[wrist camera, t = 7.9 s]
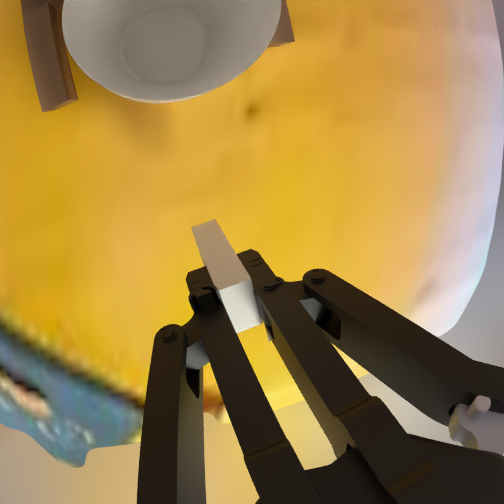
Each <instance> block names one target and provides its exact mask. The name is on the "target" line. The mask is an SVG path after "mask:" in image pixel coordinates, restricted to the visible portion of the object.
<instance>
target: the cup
mask: <svg viewBox="0 0 504 504" xmlns="http://www.w3.org/2000/svg"><path fill="white" fill-rule="evenodd" d="M280 14H281V0H64V4H63V10H62V31H63V36H64V40H65V43H66V46H67V48H68V51H69V53H70V55H71V56H72V58H73V59H74V61H75V62H76V64H77V65H78V66H79V67H80V69H81V70H82V71H83V72H84V73H85V74H86V75H88V76H89V77H90V78H91V79H93V80H94V81H95V82H97V83H98V84H100V85H102V86H103V87H104V88H106V89H107V90H109V91H111V92H113V93H115V94H117V95H119V96H121V97H124V98H127V99H130V100H134V101H139V102H145V103H172V102H179V101H184V100H188V99H191V98H195V97H198V96H200V95H203V94H205V93H207V92H210V91H212V90H214V89H215V88H217V87H220V86H222V85H224V84H225V83H227V82H229V81H231V80H233V79H234V78H236V77H237V76H239V75H240V74H241V73H243V72H244V71H245V70H246V69H248V68H249V67H250V66H251V65H252V64H253V63H254V62H255V61H256V60H257V59H258V58H259V57H260V56H261V54H262V53H263V52H264V51H265V49H266V48H267V46H268V45H269V43H270V41H271V40H272V38H273V36H274V33H275V31H276V29H277V26H278V23H279V19H280Z"/></svg>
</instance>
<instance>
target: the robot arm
mask: <svg viewBox="0 0 504 504" xmlns="http://www.w3.org/2000/svg"><path fill="white" fill-rule="evenodd" d="M192 231H193V234H194V237H195V240H196V243H197V246H198V249H199V252H200V255H201V258H202V261H203V264H204V267H202V268H199V269H196V270H193V271H191V272H188V274H187V277H186V282H187V285H188V289H189V292H190V295H189V302H190V305H191V307H192V309H193V311H194V315H193V317H192V318H191V319H190V321H189V322H187V323H186V324H185V325H183V326H179V325H177V324H170V325H167V326H164V327H163V328H161V329H160V330H159V331H158V332H157V333H156V335H155V338H154V344H153V351H152V357H151V363H150V370H149V377H148V384H147V392H146V400H145V408H144V417H143V426H142V435H141V446H140V459H139V471H138V488H137V504H206V489H205V464H204V426H203V366H204V365H206V364H207V363H209V362H210V364H211V367H212V370H213V373H214V376H215V379H216V382H217V384H218V387H219V390H220V393H221V396H222V399H223V401H224V404H225V407H226V410H227V412H228V415H229V418H230V420H231V423H232V426H233V428H234V431H235V434H236V436H237V438H238V441H239V444H240V446H241V449H242V452H243V455H244V461H245V464H246V466H247V469H248V471H249V474H250V476H251V479H252V481H253V483H254V486H255V488H256V490H257V493H258V495H259V497H260V498H259V499H258V500H257V502H256V503H255V504H504V456H503V453H504V368H502V367H498V366H494V365H490V364H486V363H482V362H478V361H475V360H472V359H471V358H469V357H467V356H466V355H464V354H463V353H461V352H460V351H458V350H456V349H455V348H453V347H452V346H450V345H449V344H447V343H445V342H444V341H442V340H441V339H439V338H437V337H436V336H434V335H433V334H431V333H429V332H428V331H426V330H425V329H423V328H421V327H420V326H418V325H417V324H415V323H413V322H412V321H410V320H409V319H407V318H405V317H404V316H402V315H400V314H399V313H397V312H396V311H394V310H392V309H391V308H389V307H387V306H386V305H384V304H382V303H381V302H379V301H378V300H376V299H374V298H373V297H371V296H369V295H368V294H366V293H364V292H363V291H361V290H359V289H358V288H356V287H354V286H353V285H351V284H349V283H348V282H346V281H344V280H343V279H341V278H339V277H338V276H336V275H334V274H333V273H331V272H329V271H327V270H325V269H312V270H310V271H308V272H306V273H305V274H304V276H303V280H302V281H295V282H285V281H284V280H283V279H282V278H280V277H277V276H275V274H274V273H273V272H272V270H271V269H270V268H269V266H268V265H267V264H266V262H265V261H264V259H263V258H262V257H261V255H260V254H259V253H258V252H257V251H255V250H252V249H249V250H247V251H244V252H241V253H238V254H236V253H235V251H234V250H233V248H232V246H231V245H230V243H229V241H228V240H227V238H226V236H225V235H224V233H223V231H222V230H221V228H220V226H219V225H218V223H217V221H216V220H212V221H209V222H206V223H203V224H200V225H197V226H195V227H192ZM261 318H262V319H261ZM262 320H263V321H264V323H265V327H266V331H267V335H268V339H269V341H271V340H272V342H273V344H274V345H275V347H276V349H277V351H278V353H279V354H280V356H281V358H282V360H283V361H284V363H285V365H286V367H287V369H288V370H289V372H290V374H291V376H292V377H293V379H294V381H295V383H296V384H297V386H298V388H299V390H300V391H301V393H302V395H303V397H304V398H305V400H306V402H307V404H308V405H309V407H310V409H311V410H312V412H313V414H314V416H315V417H316V419H317V421H318V422H319V424H320V426H321V428H322V429H323V431H324V433H325V434H326V436H327V438H328V439H329V441H330V443H331V445H332V447H333V450H334V453H335V455H336V457H337V460H335V461H334V462H333V463H332V464H330V465H327V466H323V467H318V468H314V469H309V470H304V469H303V467H302V465H301V463H300V461H299V459H298V457H297V455H296V453H295V452H294V449H293V448H292V446H291V444H290V442H289V441H288V439H287V438H286V436H285V434H284V432H283V430H282V428H281V427H280V424H279V422H278V420H277V418H276V416H275V414H274V412H273V410H272V408H271V406H270V404H269V402H268V400H267V398H266V396H265V394H264V392H263V389H262V387H261V385H260V383H259V381H258V379H257V377H256V375H255V373H254V370H253V368H252V366H251V364H250V362H249V360H248V358H247V355H246V353H245V351H244V349H243V347H242V344H241V342H240V340H239V338H238V336H237V333H239V332H242V331H244V330H247V329H249V328H252V327H255V326H257V325H260V324H262ZM331 343H332V344H334V345H335V346H336V347H338V348H339V349H340V350H341V351H343V352H344V353H345V354H346V355H348V356H349V357H350V358H352V359H353V360H354V361H355V362H357V363H358V364H359V365H361V366H362V367H363V368H365V369H366V370H367V371H368V372H370V373H371V374H373V375H374V376H375V377H376V378H378V379H379V380H380V381H381V382H383V383H384V384H386V385H387V386H388V387H389V388H391V389H392V390H394V391H395V392H396V393H397V394H398V395H400V396H401V397H403V398H404V399H405V400H407V401H408V402H409V403H410V404H412V405H413V406H414V407H416V408H417V409H418V410H420V411H421V412H422V413H424V414H425V415H427V416H428V417H430V418H431V419H433V420H435V421H437V422H439V423H441V424H443V425H445V426H448V427H449V432H450V437H451V439H452V440H453V441H456V442H457V441H458V442H460V443H462V445H463V446H464V447H463V446H458V445H453V444H448V443H444V442H440V441H436V440H432V439H427V438H424V437H419V436H416V435H412V434H407V433H406V432H405V430H404V429H403V428H402V426H401V425H400V424H399V422H398V421H397V420H396V418H395V417H394V416H393V414H392V413H391V412H390V410H389V409H388V408H387V406H386V405H385V404H384V402H383V401H382V400H381V399H380V398H378V397H377V396H371V395H369V393H368V392H367V391H366V390H365V388H364V387H363V385H362V384H361V383H360V382H359V380H358V379H357V377H356V376H355V375H354V373H353V372H352V371H351V369H350V368H349V367H348V365H347V364H346V363H345V361H344V360H343V359H342V357H341V356H340V354H339V353H338V352H337V350H336V349H335V348H334V346H333V345H332V344H331Z"/></svg>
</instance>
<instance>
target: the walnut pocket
mask: <svg viewBox="0 0 504 504" xmlns="http://www.w3.org/2000/svg"><path fill="white" fill-rule="evenodd" d="M63 4H64V0H21V5H22V14H23V22H24V29H25V35H26V41H27V47H28V52H29V57H30V62H31V67H32V72H33V76H34V81H35V85H36V89H37V93H38V97H39V101H40V104H41V108H42V111H43V112H46V111H51V110H56V109H58V108H60V107H62V106H64V105H67V104H69V103H71V102H73V101H75V100H78V97H77V93H76V89H75V85H74V82H73V78H72V74H71V69H70V65H69V61H68V56H67V52H66V47H65V42H64V37H63V32H62V27H61V21H60V15H59V12H60V11H62V10H63ZM294 41H295V40H294V35H293V30H292V25H291V21H290V16H289V12H288V8H287V3H286V0H281V14H280V19H279V23H278V26H277V29H276V31H275V33H274V36H273V38H272V40H271V41H270V43H269V45H268V46H267V47H275V46H281V45H284V44H287V43H291V42H294Z"/></svg>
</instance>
